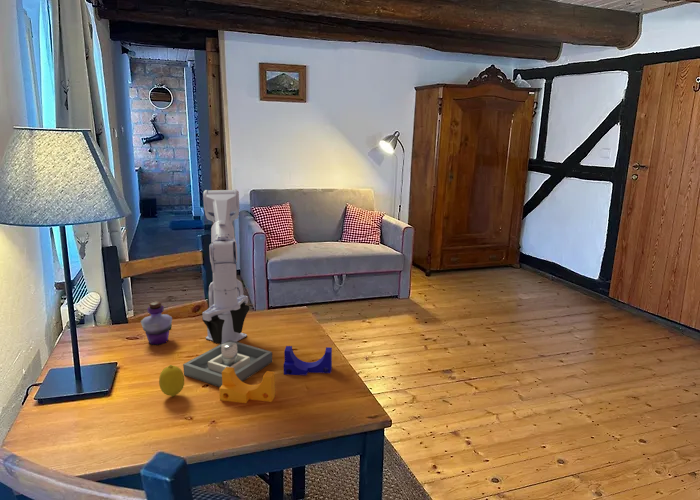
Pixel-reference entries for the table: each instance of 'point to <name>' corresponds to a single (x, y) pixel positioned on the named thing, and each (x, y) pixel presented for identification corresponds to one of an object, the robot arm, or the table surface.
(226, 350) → the metal peg
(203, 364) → the walled tray
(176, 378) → the lemon
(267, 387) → the pipe clamp
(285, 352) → the blue cradle block
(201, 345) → the table surface
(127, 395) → the table surface
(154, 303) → the potion bottle
